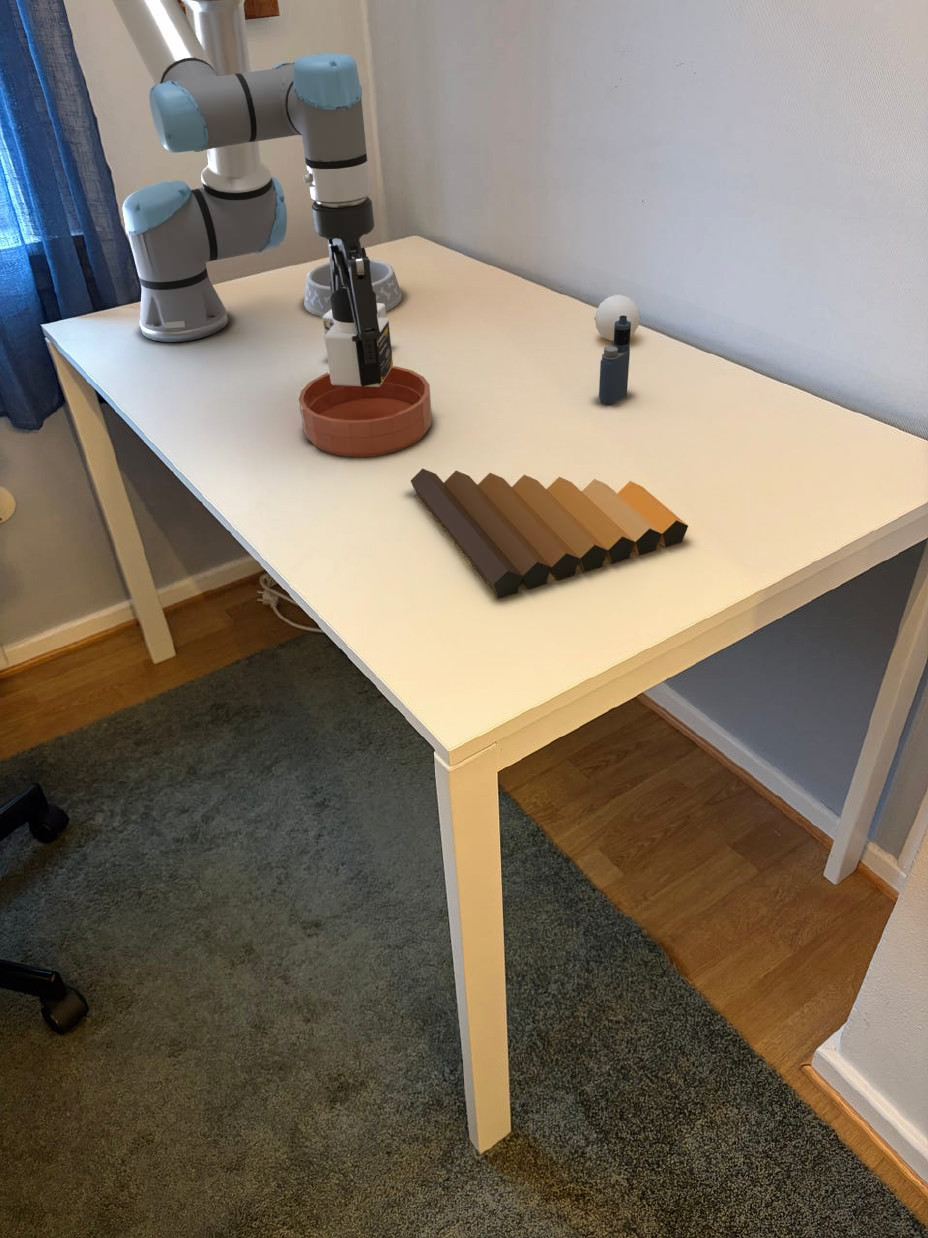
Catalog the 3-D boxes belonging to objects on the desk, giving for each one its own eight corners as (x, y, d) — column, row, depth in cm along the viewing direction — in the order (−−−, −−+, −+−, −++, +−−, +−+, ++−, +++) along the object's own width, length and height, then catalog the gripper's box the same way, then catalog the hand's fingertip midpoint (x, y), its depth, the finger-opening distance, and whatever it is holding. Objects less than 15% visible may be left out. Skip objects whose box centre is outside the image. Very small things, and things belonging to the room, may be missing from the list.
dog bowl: (399, 315, 172) (396, 286, 168) (298, 320, 172) (293, 290, 169) (405, 282, 185) (402, 254, 182) (311, 286, 186) (307, 258, 182)
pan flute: (411, 494, 123) (493, 600, 104) (409, 471, 121) (492, 575, 102) (582, 449, 130) (686, 540, 112) (582, 427, 128) (689, 516, 109)
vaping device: (630, 394, 142) (636, 316, 135) (609, 407, 139) (613, 327, 132) (616, 390, 144) (621, 312, 136) (595, 402, 141) (598, 323, 133)
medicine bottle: (380, 387, 130) (370, 300, 122) (330, 385, 131) (317, 299, 124) (393, 366, 135) (385, 281, 128) (345, 364, 136) (334, 280, 129)
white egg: (647, 343, 157) (650, 299, 152) (606, 351, 155) (609, 307, 150) (618, 322, 164) (620, 280, 160) (579, 330, 162) (580, 287, 158)
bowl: (294, 412, 143) (288, 378, 139) (411, 390, 147) (408, 356, 144) (319, 469, 129) (313, 432, 126) (448, 442, 133) (446, 406, 130)
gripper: (294, 182, 126) (319, 345, 140) (330, 226, 109) (354, 406, 123) (350, 175, 128) (368, 336, 142) (393, 217, 111) (409, 396, 125)
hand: (361, 369), depth 132 cm, fingers closed on medicine bottle, 9 cm apart
